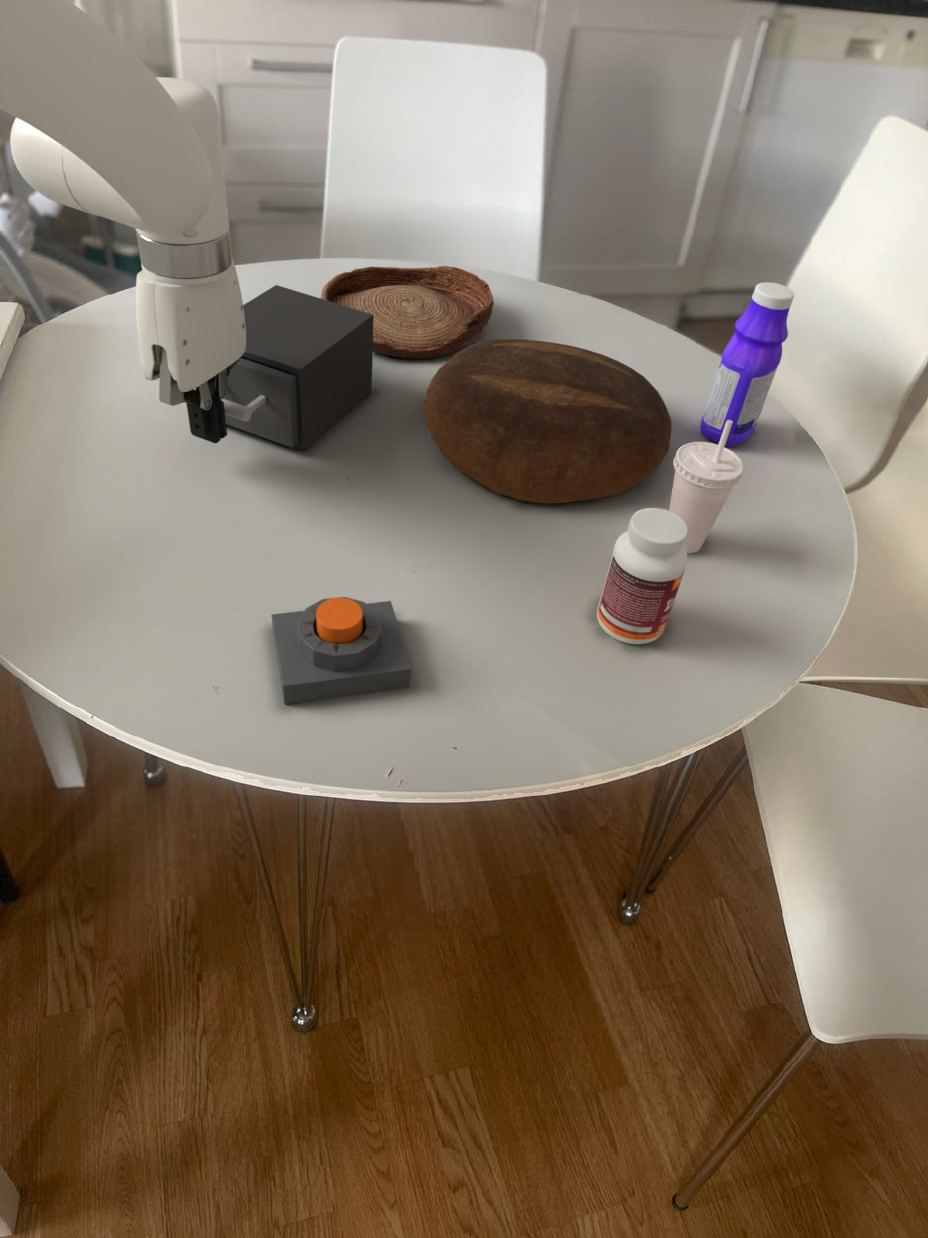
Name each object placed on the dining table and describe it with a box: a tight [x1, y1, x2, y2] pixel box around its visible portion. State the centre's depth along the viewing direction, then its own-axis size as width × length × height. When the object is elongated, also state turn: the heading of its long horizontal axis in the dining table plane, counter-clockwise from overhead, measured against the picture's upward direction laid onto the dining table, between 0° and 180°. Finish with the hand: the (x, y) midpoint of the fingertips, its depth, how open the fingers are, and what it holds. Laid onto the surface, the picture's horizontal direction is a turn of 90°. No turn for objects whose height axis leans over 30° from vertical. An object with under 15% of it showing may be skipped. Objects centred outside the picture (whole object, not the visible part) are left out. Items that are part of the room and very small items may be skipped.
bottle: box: [700, 281, 795, 447], centre depth 98 cm, size 7×6×17 cm
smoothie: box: [668, 420, 745, 554], centre depth 84 cm, size 6×6×14 cm
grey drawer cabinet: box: [242, 284, 374, 452], centre depth 97 cm, size 15×13×10 cm
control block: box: [271, 596, 412, 705], centre depth 71 cm, size 10×8×4 cm
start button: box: [316, 597, 363, 645], centre depth 70 cm, size 4×4×2 cm
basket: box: [320, 265, 495, 360], centre depth 115 cm, size 22×20×5 cm
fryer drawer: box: [221, 356, 299, 449], centre depth 94 cm, size 18×11×8 cm, turn 155°
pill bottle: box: [596, 507, 688, 645], centre depth 75 cm, size 6×6×11 cm
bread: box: [423, 338, 673, 504], centre depth 97 cm, size 28×27×9 cm
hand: (209, 435), depth 88 cm, fingers closed
